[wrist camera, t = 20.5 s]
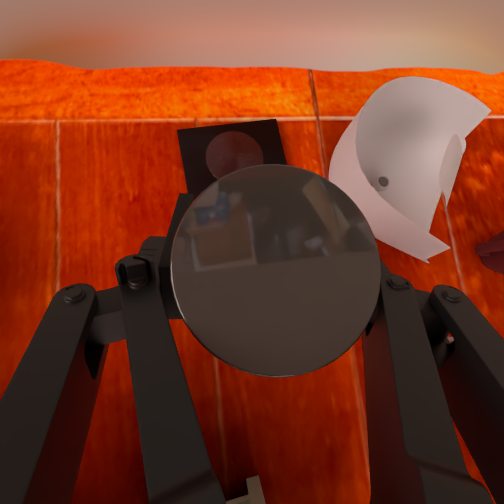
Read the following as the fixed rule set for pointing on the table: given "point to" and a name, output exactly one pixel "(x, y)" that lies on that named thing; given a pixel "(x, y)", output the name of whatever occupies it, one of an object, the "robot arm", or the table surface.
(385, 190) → the white curved piece
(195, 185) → the hob plate
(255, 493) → the small table
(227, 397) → the table surface
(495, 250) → the mug
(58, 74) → the table surface
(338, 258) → the jar
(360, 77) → the table surface
